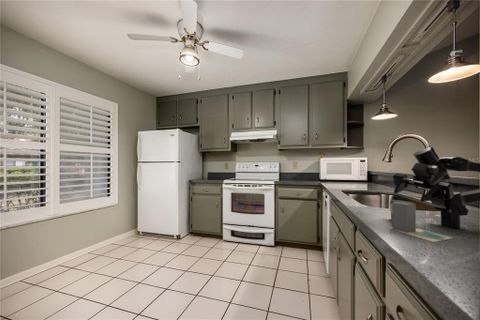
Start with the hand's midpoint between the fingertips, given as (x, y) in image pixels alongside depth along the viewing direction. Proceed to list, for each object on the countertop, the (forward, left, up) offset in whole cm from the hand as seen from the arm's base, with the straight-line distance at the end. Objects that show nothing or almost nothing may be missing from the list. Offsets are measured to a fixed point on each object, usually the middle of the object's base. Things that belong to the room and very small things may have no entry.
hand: (407, 196), depth 78 cm
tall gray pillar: (+3, +1, -12) cm, 13 cm away
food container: (-8, -5, -14) cm, 17 cm away
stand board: (+2, +4, -13) cm, 14 cm away
